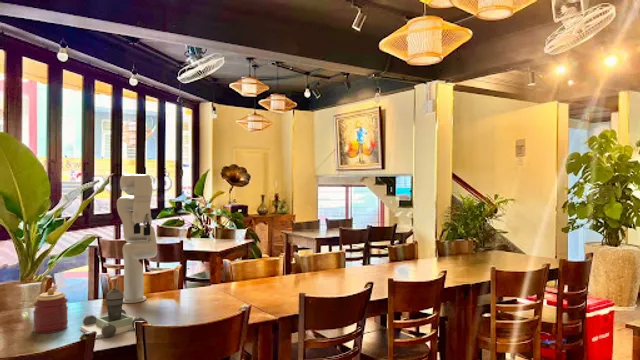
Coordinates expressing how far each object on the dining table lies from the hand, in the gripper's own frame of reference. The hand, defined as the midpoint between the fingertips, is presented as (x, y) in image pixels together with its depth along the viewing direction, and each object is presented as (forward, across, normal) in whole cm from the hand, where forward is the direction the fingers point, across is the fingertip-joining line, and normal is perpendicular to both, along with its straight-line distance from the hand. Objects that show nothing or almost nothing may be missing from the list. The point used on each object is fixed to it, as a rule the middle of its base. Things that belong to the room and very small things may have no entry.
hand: (141, 234), depth 218 cm
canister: (+38, -6, -38) cm, 54 cm away
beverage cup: (+37, +13, -19) cm, 44 cm away
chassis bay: (+38, +13, -19) cm, 45 cm away
